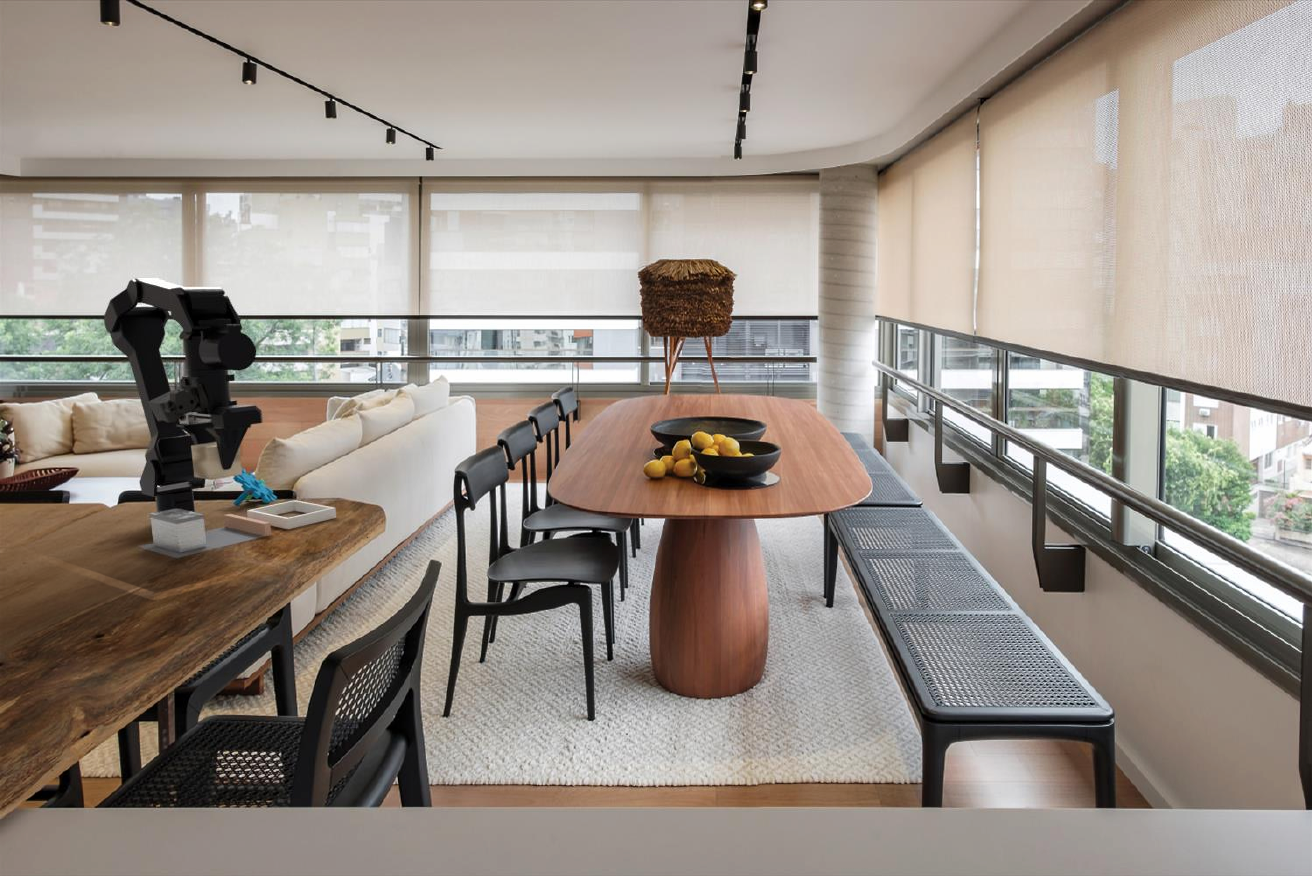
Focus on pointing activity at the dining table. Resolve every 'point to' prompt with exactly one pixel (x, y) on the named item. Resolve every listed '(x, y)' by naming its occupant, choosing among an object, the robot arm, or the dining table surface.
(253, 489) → the blue toy piece
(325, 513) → the tray
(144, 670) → the dining table surface
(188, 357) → the robot arm
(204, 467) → the block
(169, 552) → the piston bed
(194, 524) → the grey square block
